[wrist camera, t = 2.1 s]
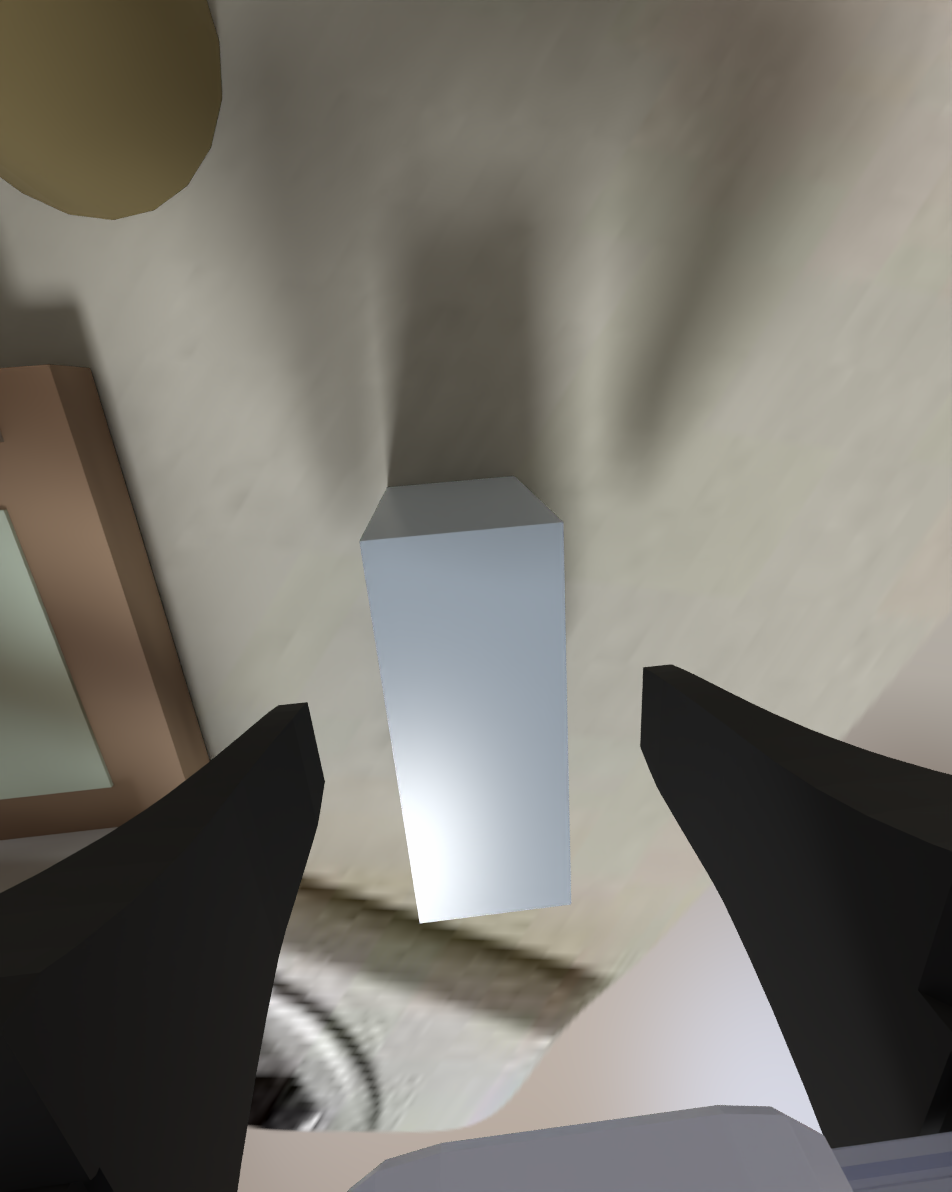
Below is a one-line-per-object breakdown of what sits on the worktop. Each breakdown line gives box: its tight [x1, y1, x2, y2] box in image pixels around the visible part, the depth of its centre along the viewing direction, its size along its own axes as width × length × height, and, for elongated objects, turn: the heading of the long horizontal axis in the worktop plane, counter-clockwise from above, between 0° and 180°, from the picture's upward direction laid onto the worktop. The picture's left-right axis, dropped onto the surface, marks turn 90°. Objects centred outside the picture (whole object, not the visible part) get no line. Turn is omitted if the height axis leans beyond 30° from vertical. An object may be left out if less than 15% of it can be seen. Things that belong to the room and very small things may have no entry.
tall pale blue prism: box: [360, 476, 571, 923], centre depth 14 cm, size 9×4×6 cm, turn 4°
